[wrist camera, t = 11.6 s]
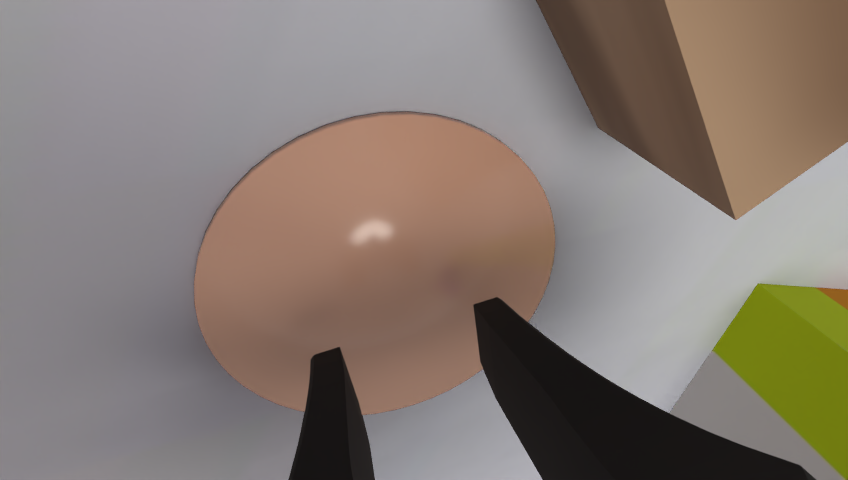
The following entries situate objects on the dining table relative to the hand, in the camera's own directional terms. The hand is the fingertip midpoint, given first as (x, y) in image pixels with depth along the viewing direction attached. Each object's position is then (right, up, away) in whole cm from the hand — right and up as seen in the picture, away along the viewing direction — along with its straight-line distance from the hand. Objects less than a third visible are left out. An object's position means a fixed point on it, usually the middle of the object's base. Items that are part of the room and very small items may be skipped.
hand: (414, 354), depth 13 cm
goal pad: (-1, +1, +2) cm, 3 cm away
